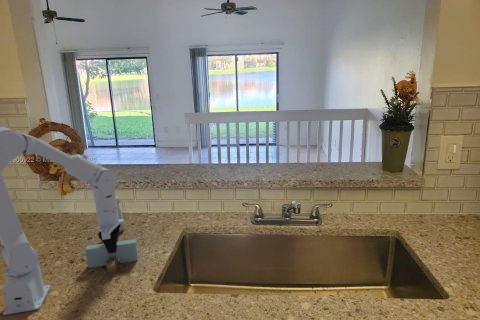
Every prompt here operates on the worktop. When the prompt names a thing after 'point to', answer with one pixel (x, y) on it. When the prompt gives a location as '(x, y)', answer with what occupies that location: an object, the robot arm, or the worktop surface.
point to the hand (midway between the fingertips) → (113, 250)
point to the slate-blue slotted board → (100, 255)
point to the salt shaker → (120, 214)
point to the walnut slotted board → (112, 265)
